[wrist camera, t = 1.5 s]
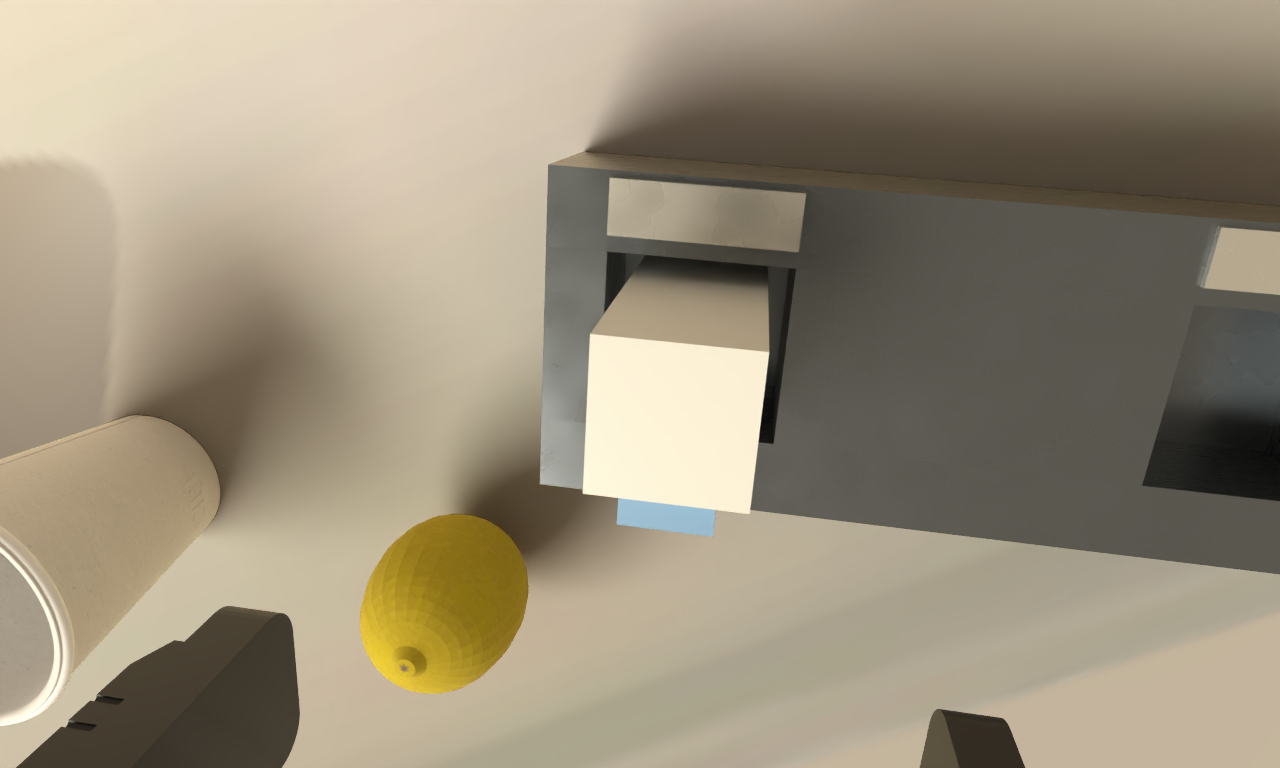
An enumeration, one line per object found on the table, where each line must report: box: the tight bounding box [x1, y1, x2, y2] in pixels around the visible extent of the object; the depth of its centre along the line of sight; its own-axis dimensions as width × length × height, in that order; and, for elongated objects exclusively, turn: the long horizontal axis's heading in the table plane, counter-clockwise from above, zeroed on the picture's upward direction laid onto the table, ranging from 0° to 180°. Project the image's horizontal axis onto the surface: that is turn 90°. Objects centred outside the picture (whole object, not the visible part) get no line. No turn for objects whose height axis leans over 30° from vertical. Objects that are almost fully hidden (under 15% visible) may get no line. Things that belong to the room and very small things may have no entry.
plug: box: [583, 255, 769, 537], centre depth 24 cm, size 5×4×10 cm
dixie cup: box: [0, 415, 220, 726], centre depth 31 cm, size 8×8×10 cm
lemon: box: [360, 514, 528, 693], centre depth 31 cm, size 6×6×8 cm
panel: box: [540, 152, 1280, 574], centre depth 27 cm, size 10×25×5 cm, turn 86°
